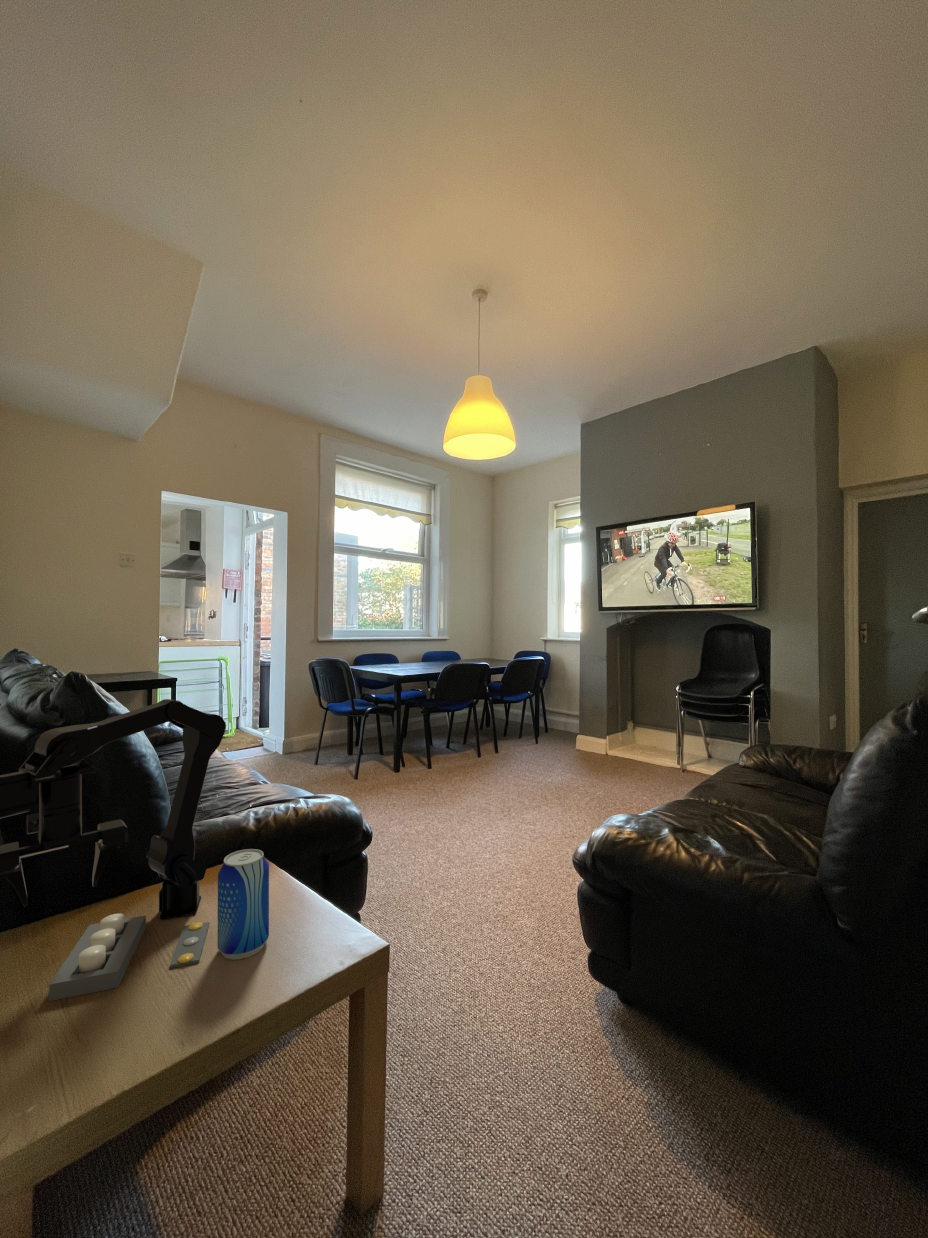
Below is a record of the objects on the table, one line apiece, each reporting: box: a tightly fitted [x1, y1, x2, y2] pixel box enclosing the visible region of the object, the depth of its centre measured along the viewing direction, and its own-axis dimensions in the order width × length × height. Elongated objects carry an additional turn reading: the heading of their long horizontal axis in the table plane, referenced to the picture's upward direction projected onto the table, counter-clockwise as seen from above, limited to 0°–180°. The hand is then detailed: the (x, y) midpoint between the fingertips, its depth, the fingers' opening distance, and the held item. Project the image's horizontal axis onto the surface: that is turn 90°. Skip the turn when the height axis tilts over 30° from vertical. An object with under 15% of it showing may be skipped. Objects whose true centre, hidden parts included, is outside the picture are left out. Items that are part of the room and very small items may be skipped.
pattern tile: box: [169, 921, 210, 969], centre depth 92 cm, size 4×12×1 cm, turn 19°
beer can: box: [216, 848, 270, 961], centre depth 92 cm, size 8×8×16 cm
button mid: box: [90, 928, 115, 952], centre depth 88 cm, size 4×4×2 cm
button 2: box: [99, 913, 125, 936], centre depth 93 cm, size 4×4×2 cm
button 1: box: [79, 945, 106, 973], centre depth 83 cm, size 4×4×2 cm
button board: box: [48, 915, 147, 1002], centre depth 88 cm, size 9×17×2 cm, turn 19°
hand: (61, 895), depth 88 cm, fingers open, 9 cm apart
